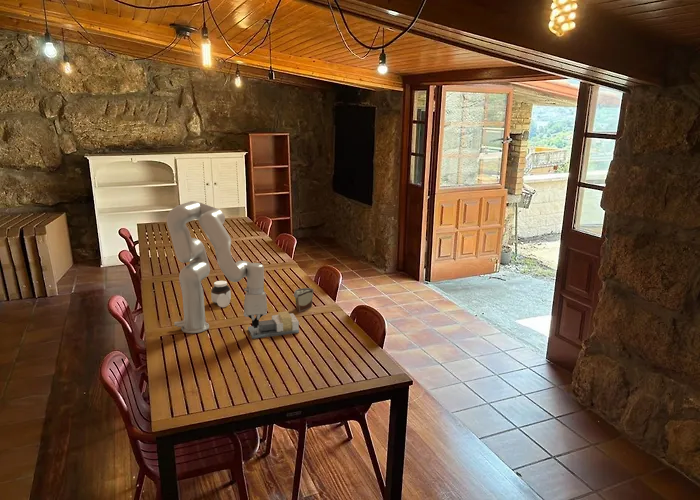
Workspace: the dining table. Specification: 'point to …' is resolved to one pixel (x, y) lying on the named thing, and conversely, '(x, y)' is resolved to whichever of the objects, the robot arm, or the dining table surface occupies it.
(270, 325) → the vise jaw
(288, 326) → the brass block
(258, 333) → the vise
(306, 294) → the food container
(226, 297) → the spread jar
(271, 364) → the dining table surface
